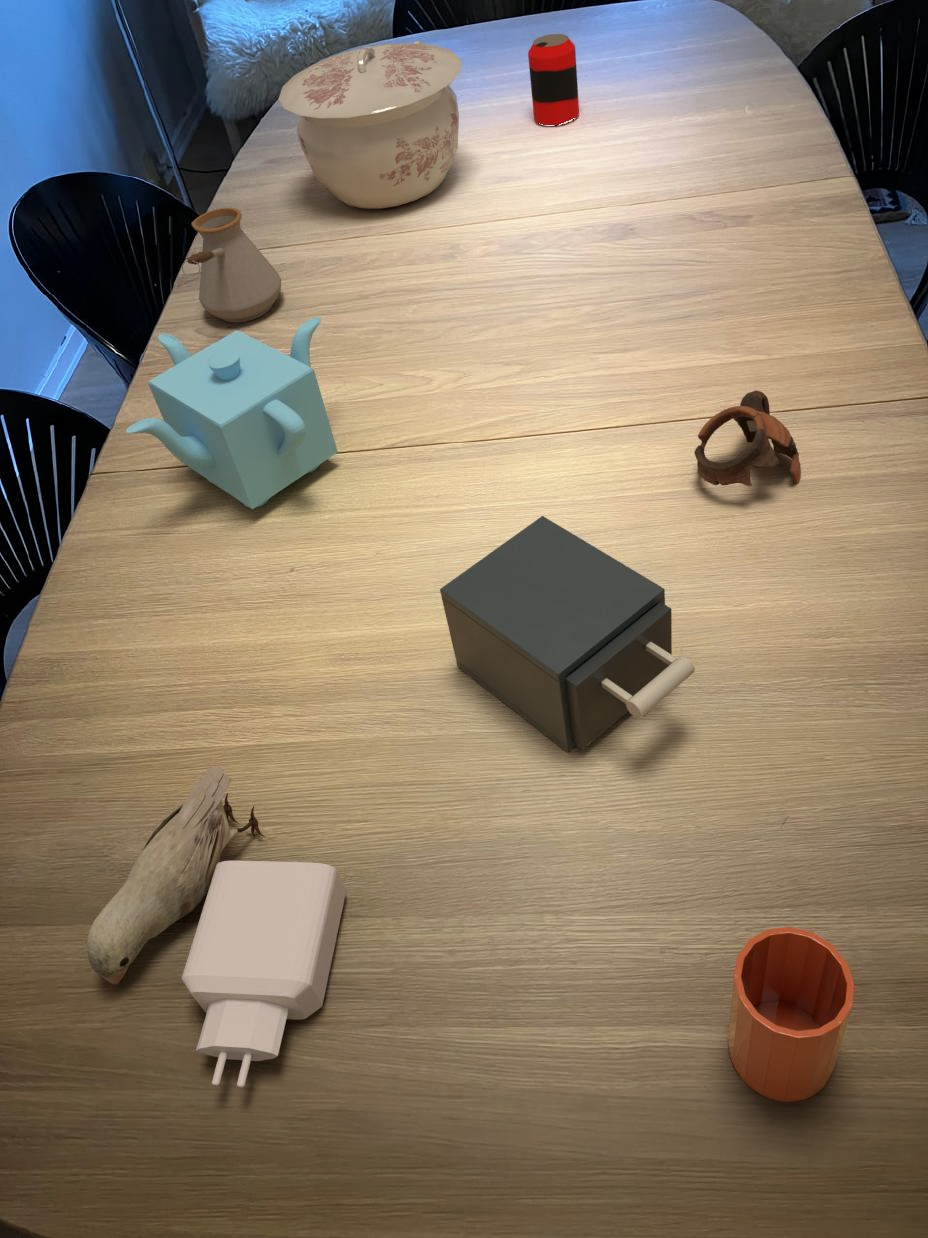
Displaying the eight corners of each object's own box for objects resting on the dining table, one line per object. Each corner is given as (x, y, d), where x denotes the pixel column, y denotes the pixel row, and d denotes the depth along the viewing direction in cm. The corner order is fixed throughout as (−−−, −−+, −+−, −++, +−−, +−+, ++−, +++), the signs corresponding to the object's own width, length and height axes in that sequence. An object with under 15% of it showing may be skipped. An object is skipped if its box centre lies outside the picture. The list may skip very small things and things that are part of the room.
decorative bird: (86, 972, 76) (42, 924, 71) (226, 806, 85) (196, 751, 79) (137, 1006, 74) (95, 958, 68) (276, 831, 82) (248, 777, 77)
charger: (173, 1095, 69) (233, 891, 79) (306, 1104, 67) (349, 895, 77) (148, 1068, 65) (213, 859, 76) (286, 1077, 64) (334, 862, 74)
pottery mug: (809, 506, 100) (773, 459, 94) (718, 529, 105) (680, 486, 100) (808, 408, 105) (775, 359, 100) (723, 435, 111) (686, 389, 105)
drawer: (712, 700, 84) (715, 635, 78) (623, 780, 80) (619, 717, 74) (565, 603, 94) (558, 538, 88) (478, 669, 90) (465, 606, 84)
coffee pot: (214, 292, 148) (178, 189, 137) (292, 281, 146) (261, 177, 136) (183, 375, 133) (140, 267, 122) (269, 365, 132) (234, 254, 121)
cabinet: (665, 670, 88) (665, 588, 81) (567, 753, 83) (558, 674, 76) (552, 595, 96) (542, 515, 89) (457, 667, 91) (439, 588, 84)
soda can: (524, 122, 174) (517, 44, 165) (556, 105, 177) (550, 28, 168) (557, 130, 169) (551, 51, 161) (588, 113, 172) (584, 35, 164)
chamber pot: (339, 249, 151) (303, 102, 136) (285, 186, 170) (248, 51, 155) (510, 190, 156) (493, 42, 142) (440, 136, 175) (418, 0, 160)
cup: (816, 994, 67) (833, 921, 60) (847, 1096, 63) (870, 1030, 56) (718, 1005, 68) (723, 934, 60) (741, 1107, 63) (750, 1043, 56)
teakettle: (334, 514, 109) (299, 397, 98) (164, 533, 111) (111, 419, 100) (349, 410, 122) (319, 297, 111) (196, 428, 124) (153, 319, 113)
